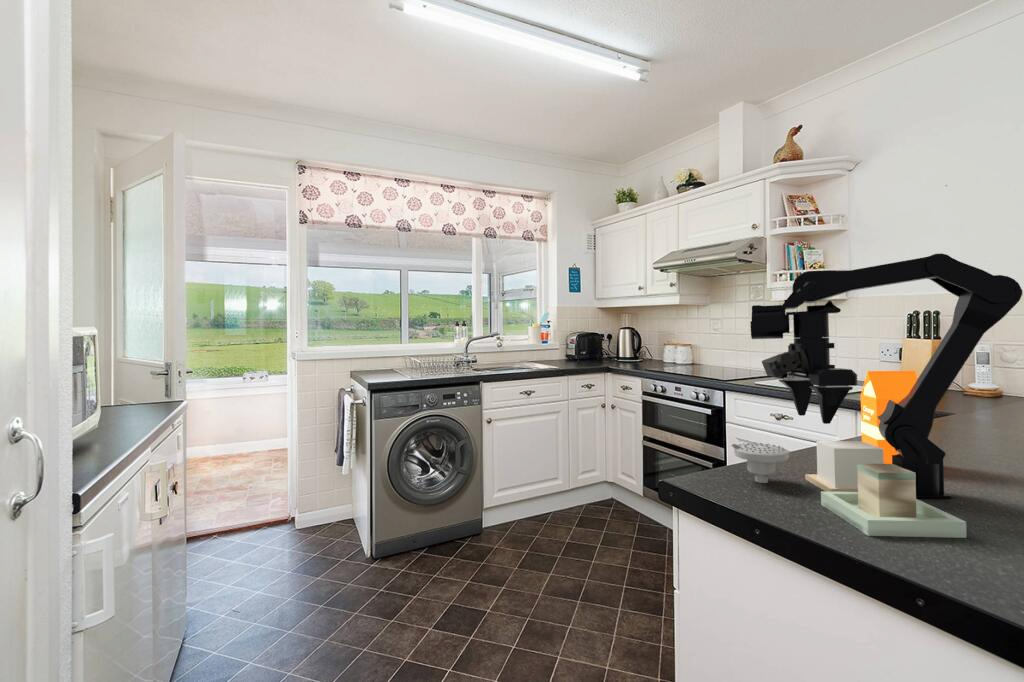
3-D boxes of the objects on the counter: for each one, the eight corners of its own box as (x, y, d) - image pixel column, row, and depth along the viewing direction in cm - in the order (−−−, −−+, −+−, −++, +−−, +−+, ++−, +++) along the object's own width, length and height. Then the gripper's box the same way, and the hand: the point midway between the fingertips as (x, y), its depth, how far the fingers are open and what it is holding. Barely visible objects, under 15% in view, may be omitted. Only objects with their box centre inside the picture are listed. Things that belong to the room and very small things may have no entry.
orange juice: (929, 470, 95) (926, 372, 95) (877, 468, 98) (875, 372, 98) (908, 460, 103) (906, 369, 103) (861, 458, 105) (859, 369, 105)
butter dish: (860, 479, 91) (859, 438, 91) (892, 495, 82) (891, 449, 82) (805, 479, 92) (804, 438, 92) (830, 494, 83) (829, 449, 83)
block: (892, 508, 74) (891, 463, 74) (916, 520, 69) (915, 472, 69) (858, 508, 74) (857, 463, 74) (879, 520, 69) (878, 472, 69)
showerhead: (725, 438, 97) (778, 439, 95) (726, 473, 97) (779, 475, 95) (737, 449, 88) (796, 450, 86) (738, 487, 88) (797, 489, 86)
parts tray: (902, 505, 77) (902, 492, 77) (966, 537, 64) (966, 521, 64) (821, 504, 78) (820, 491, 78) (868, 535, 66) (867, 520, 66)
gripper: (748, 339, 100) (750, 412, 100) (788, 339, 82) (791, 428, 82) (804, 337, 99) (806, 411, 99) (858, 337, 80) (860, 428, 81)
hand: (813, 419), depth 90 cm, fingers open, 9 cm apart
